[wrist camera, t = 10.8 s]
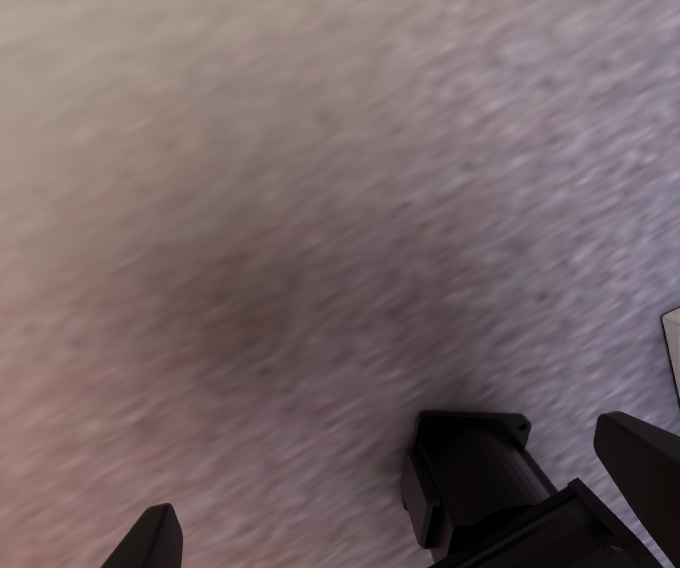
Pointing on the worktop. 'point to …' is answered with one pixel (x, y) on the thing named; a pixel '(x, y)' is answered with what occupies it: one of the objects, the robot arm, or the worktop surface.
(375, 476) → the worktop surface
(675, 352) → the small box
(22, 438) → the worktop surface
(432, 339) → the worktop surface
